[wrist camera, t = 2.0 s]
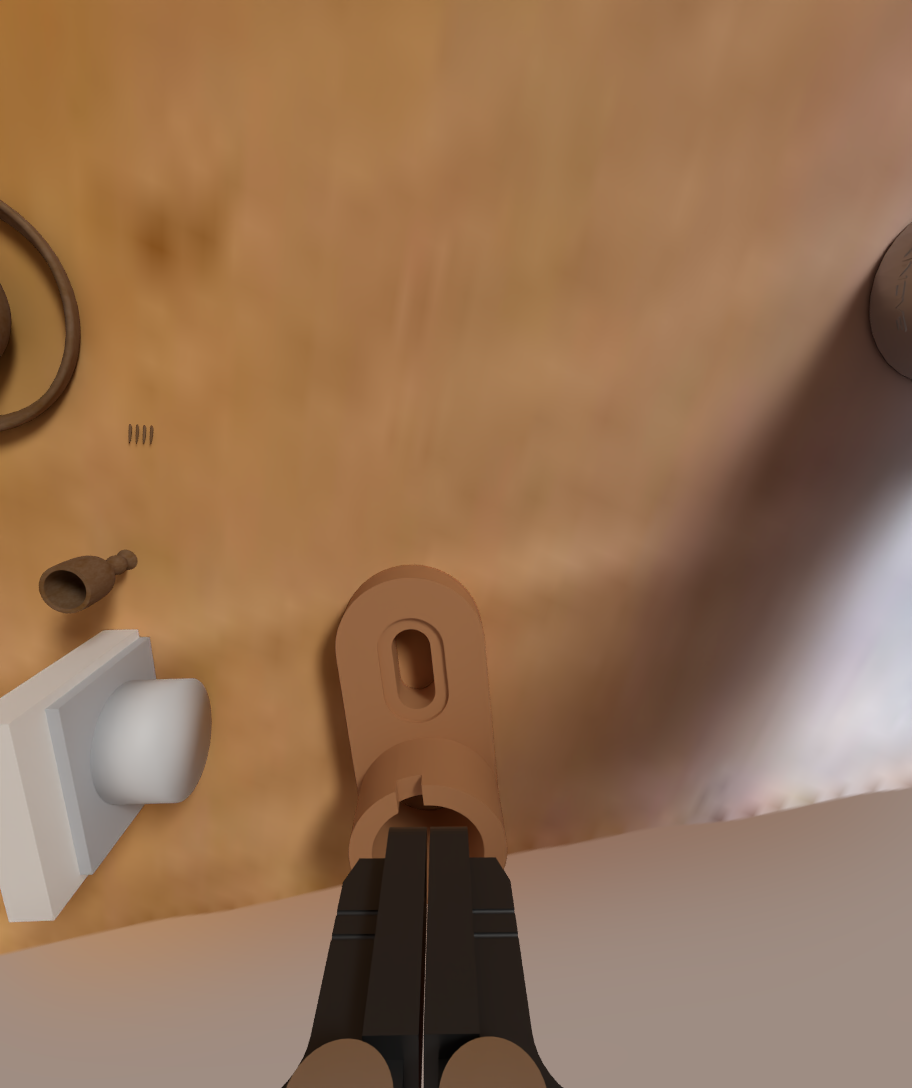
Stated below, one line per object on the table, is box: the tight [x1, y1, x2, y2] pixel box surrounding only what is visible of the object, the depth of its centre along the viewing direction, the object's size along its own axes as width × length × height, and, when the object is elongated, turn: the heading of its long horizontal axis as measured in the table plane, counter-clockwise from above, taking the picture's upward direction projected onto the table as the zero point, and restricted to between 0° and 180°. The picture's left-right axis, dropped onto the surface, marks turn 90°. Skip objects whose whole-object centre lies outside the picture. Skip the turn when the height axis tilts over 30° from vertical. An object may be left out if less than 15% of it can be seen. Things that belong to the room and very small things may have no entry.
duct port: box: [0, 629, 212, 922], centre depth 29 cm, size 6×10×10 cm, turn 1°
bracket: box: [335, 565, 507, 904], centre depth 31 cm, size 18×8×7 cm, turn 5°
